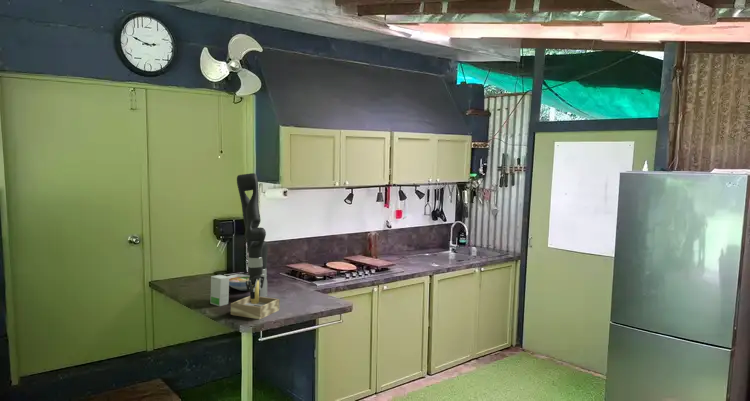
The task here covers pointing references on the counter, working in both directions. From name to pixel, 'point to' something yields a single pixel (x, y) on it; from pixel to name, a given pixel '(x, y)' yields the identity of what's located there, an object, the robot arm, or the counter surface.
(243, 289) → the ramen bowl
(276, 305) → the box
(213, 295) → the skincare box
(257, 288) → the peg
